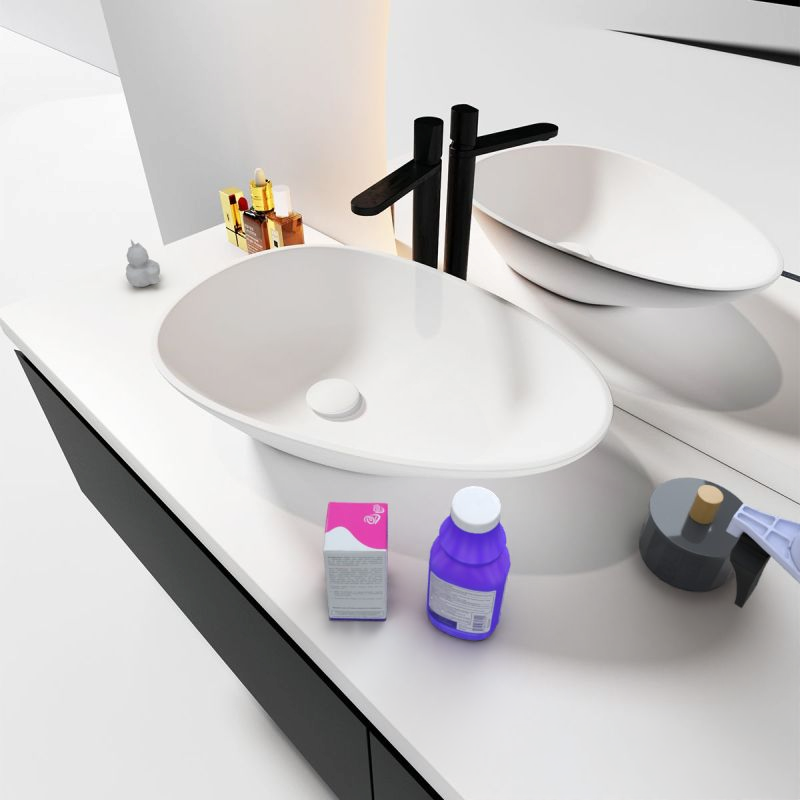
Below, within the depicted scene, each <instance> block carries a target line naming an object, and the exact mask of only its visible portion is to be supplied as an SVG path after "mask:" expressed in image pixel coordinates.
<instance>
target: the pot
mask: <svg viewBox="0 0 800 800" xmlns="http://www.w3.org/2000/svg"><path fill="white" fill-rule="evenodd" d="M642 525H643V526H642V528H641V531H640V536H639V540H638V548H639V553H640V556H641V559H642V561H643V562H644V563H645V566H646V567H647V568H648V569H649V570H650V571H651V573H653V575H655V576H656V577H657V578H659V579H660V580H661V581H663V582H664V583H667V584H668V585H670V586H671V587H674V588H677V589H680V590H683V591H688V592H696V593H697V592H698V593H700V592H701V593H702V592H709V591H712V590H715V589H717V588H719V587H721V586H722V585H723V584H725V583H726V582H727V581H728V579H729V578H730V576H731V575H732V573H733V572H734V568H733V566H732V564H731V562H730V558H727V559H719V560H714V559H704V558H700V557H696V556H693V555H690V554H687V553H685V552H683V551H681V550H679V549H677V548H676V547H674V546H673V545H671V544H670V543H669V542H667V541H666V540H665V539H664V538H663V537H662V536H661V535H660V534H659V533H658V531H657V530H656V529H655V527H654V525H653V523H652V521H651V519H650V515H649V510H648V512H647V514H646V517H645V519H644V522H643V524H642Z"/></svg>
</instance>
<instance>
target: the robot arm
mask: <svg viewBox="0 0 800 800" xmlns="http://www.w3.org/2000/svg"><path fill="white" fill-rule="evenodd" d="M726 531H727V532H728V533H730V534H732V535H733V536H735V537H740V538H739V540H738V541H737V543H736V544H735V546H734V547H733V548H732V550H731V553H730V562H731V564H732V566H733V568H734V570H733V572H734V574H735V584H736V588H735V589H736V591H735V592H736V593H735V598H734V602H733V604H734V605H735V606H737V607H739V608H740V609H743V607H744V605H745V604H746V603H747V601H748V600H749V598H750V597H751V595H752V594H753V592H754V591H755V589H756V588H757V586H758V584H759V582H760V579H761V577H762V575H763V572H764V570H765V568H766V566H767V564H768V563H769V561H770V559H771V558H773V560H774V561H775V562H776V563H778V564H779V566H780V567H782V569H784V571H786V572H787V573H788V574H789V575H790V576H791V577H792V578H793V579H794V580H795V581H796V582H798V584H800V522H797V521H794V520H791V519H787V518H783V517H781V516H778V515H774V514H770V513H767V512H764V511H761V510H759V509H756V508H754V507H752V506H750V505H749V504H746V503H744V504H743V505H742V506H741V507H740V508H739V510H738V511H737V512H736V514H735V515H734V516H733V518H732V520H731V522H730V524H729V526H728V528H727V530H726Z"/></svg>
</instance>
